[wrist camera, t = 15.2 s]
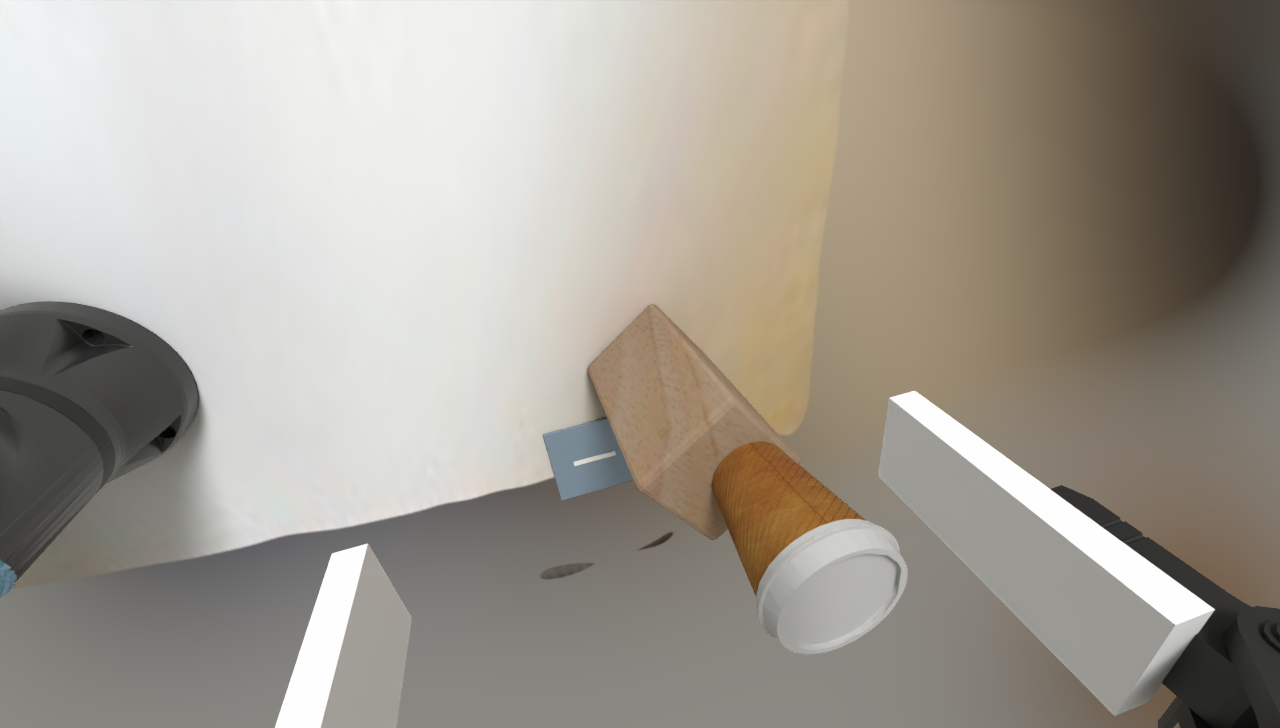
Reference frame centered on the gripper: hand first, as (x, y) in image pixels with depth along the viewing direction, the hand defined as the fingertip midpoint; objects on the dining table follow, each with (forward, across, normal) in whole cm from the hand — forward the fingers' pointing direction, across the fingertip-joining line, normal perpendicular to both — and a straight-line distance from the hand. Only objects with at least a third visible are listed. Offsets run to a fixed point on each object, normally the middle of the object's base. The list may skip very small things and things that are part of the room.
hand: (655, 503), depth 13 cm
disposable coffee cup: (+19, +11, -19) cm, 29 cm away
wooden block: (+39, +8, -19) cm, 44 cm away
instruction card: (+39, +4, -30) cm, 49 cm away
